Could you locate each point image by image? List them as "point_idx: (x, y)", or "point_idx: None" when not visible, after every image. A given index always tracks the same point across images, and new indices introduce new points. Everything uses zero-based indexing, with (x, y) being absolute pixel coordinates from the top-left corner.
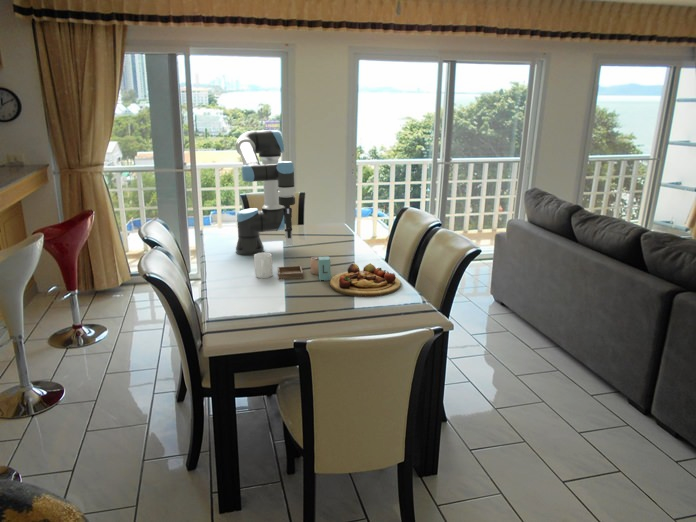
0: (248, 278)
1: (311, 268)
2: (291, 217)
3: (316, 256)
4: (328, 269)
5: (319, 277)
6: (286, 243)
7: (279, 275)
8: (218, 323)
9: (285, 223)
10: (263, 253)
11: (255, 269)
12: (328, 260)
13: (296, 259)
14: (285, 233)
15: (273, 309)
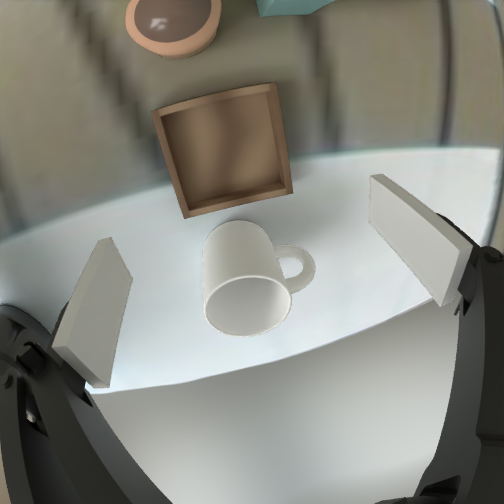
0: None
1: (199, 49)
2: (489, 440)
3: (128, 27)
4: None
5: (295, 12)
6: (377, 227)
7: (291, 187)
8: None
9: (82, 387)
10: (207, 312)
11: (261, 288)
12: None
13: (19, 181)
14: (123, 302)
15: (487, 174)
